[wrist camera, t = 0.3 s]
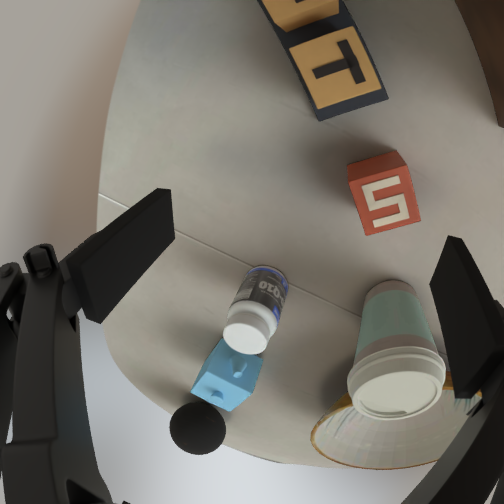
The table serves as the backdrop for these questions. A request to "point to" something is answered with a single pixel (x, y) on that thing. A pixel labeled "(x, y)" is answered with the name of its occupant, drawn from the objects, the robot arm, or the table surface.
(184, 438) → the black ball
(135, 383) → the table surface
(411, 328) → the coffee cup
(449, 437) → the bowl
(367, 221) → the block
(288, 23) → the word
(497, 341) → the robot arm
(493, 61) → the word stand
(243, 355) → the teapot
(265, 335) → the pill bottle
